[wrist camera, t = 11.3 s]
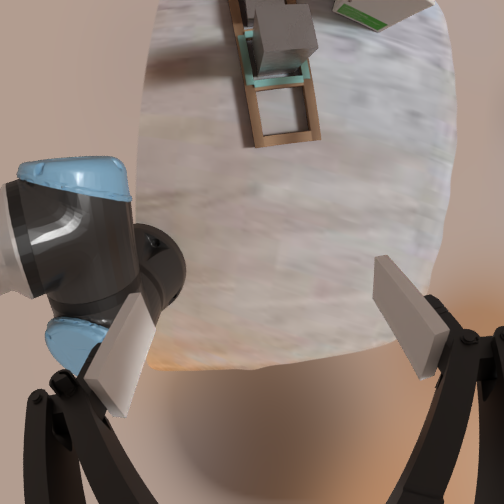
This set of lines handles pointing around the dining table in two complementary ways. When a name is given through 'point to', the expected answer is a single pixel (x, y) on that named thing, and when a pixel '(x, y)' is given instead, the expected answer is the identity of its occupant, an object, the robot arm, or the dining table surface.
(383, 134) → the dining table surface
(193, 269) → the dining table surface
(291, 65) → the brushed grey block
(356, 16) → the skincare box
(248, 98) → the wooden holder tray
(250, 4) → the grey concrete cube
